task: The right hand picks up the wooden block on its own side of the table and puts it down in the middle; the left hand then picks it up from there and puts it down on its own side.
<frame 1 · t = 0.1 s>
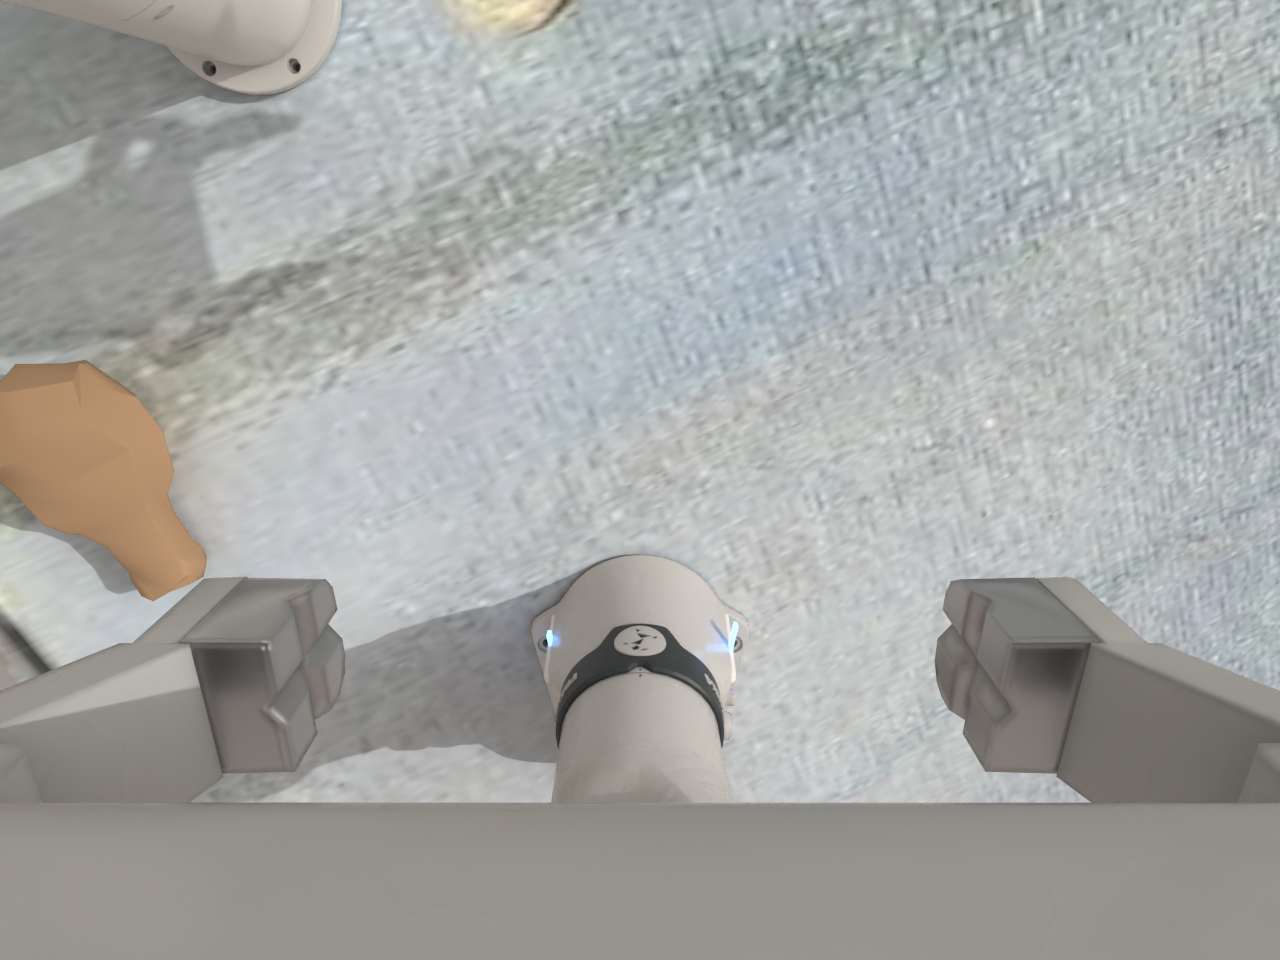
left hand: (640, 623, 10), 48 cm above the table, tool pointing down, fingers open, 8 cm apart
squash: (140, 465, 60), on the table
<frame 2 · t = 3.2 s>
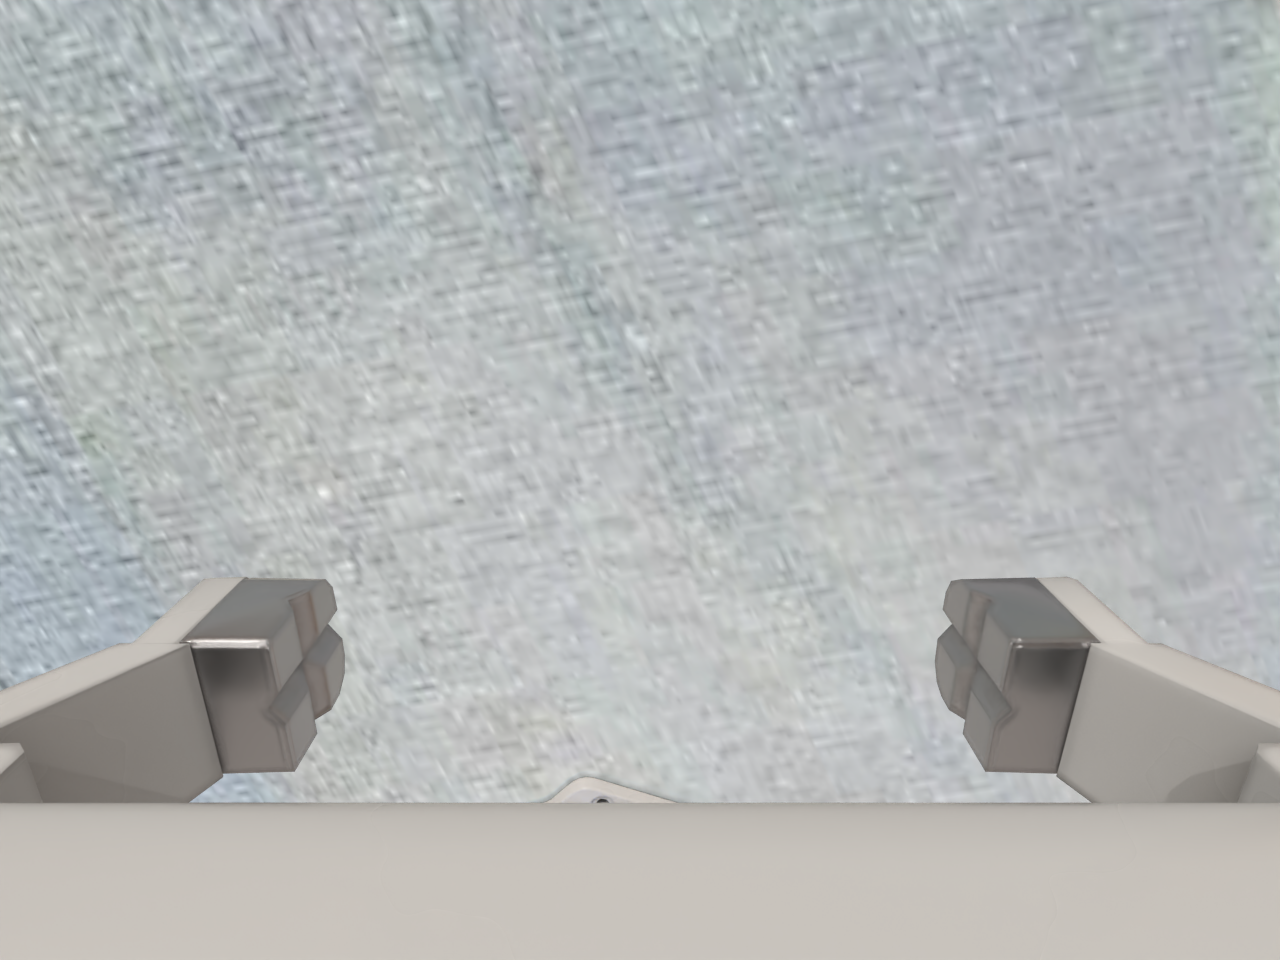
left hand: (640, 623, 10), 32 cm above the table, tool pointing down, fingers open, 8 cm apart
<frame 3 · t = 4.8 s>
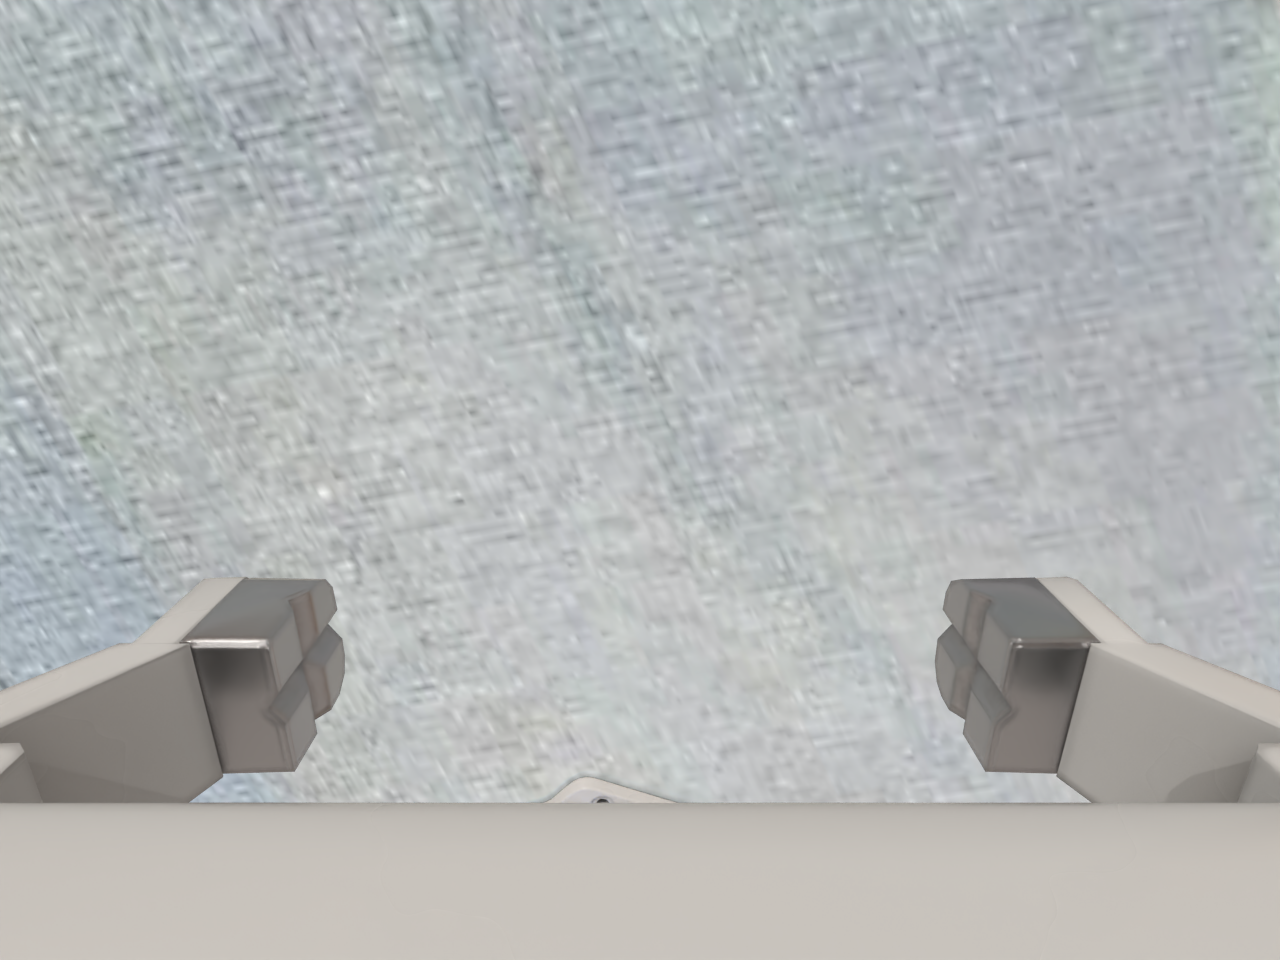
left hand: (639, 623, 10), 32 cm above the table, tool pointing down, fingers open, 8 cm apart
when the right hand's fingers open (2 cm above the table, at t = 6.6 s): block drops 1 cm, on the table.
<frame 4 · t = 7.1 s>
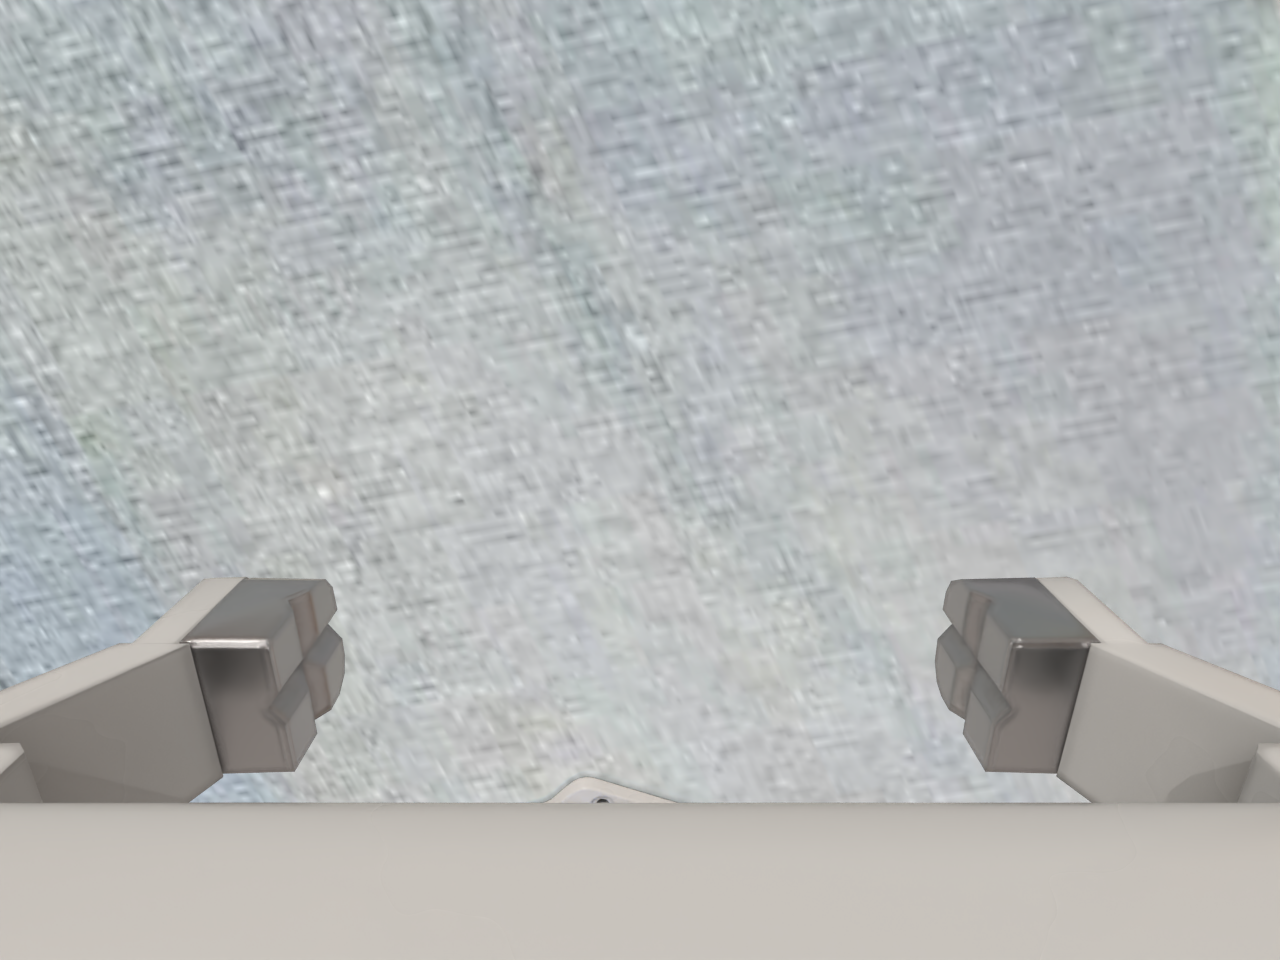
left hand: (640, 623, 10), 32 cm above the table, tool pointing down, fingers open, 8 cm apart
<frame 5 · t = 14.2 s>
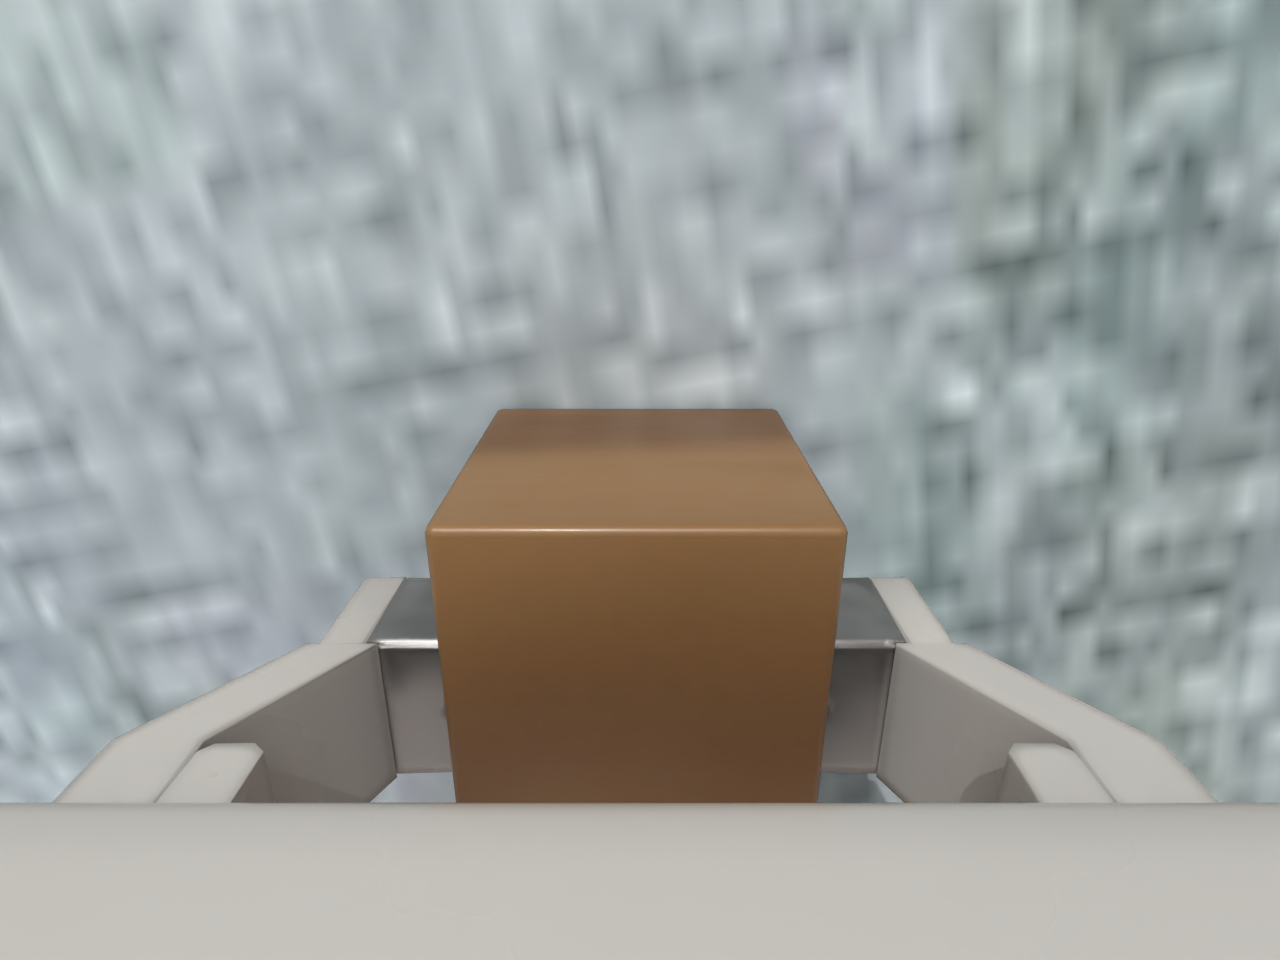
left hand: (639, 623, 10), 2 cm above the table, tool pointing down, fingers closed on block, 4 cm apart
block: (637, 566, 12), on the table, touching left hand
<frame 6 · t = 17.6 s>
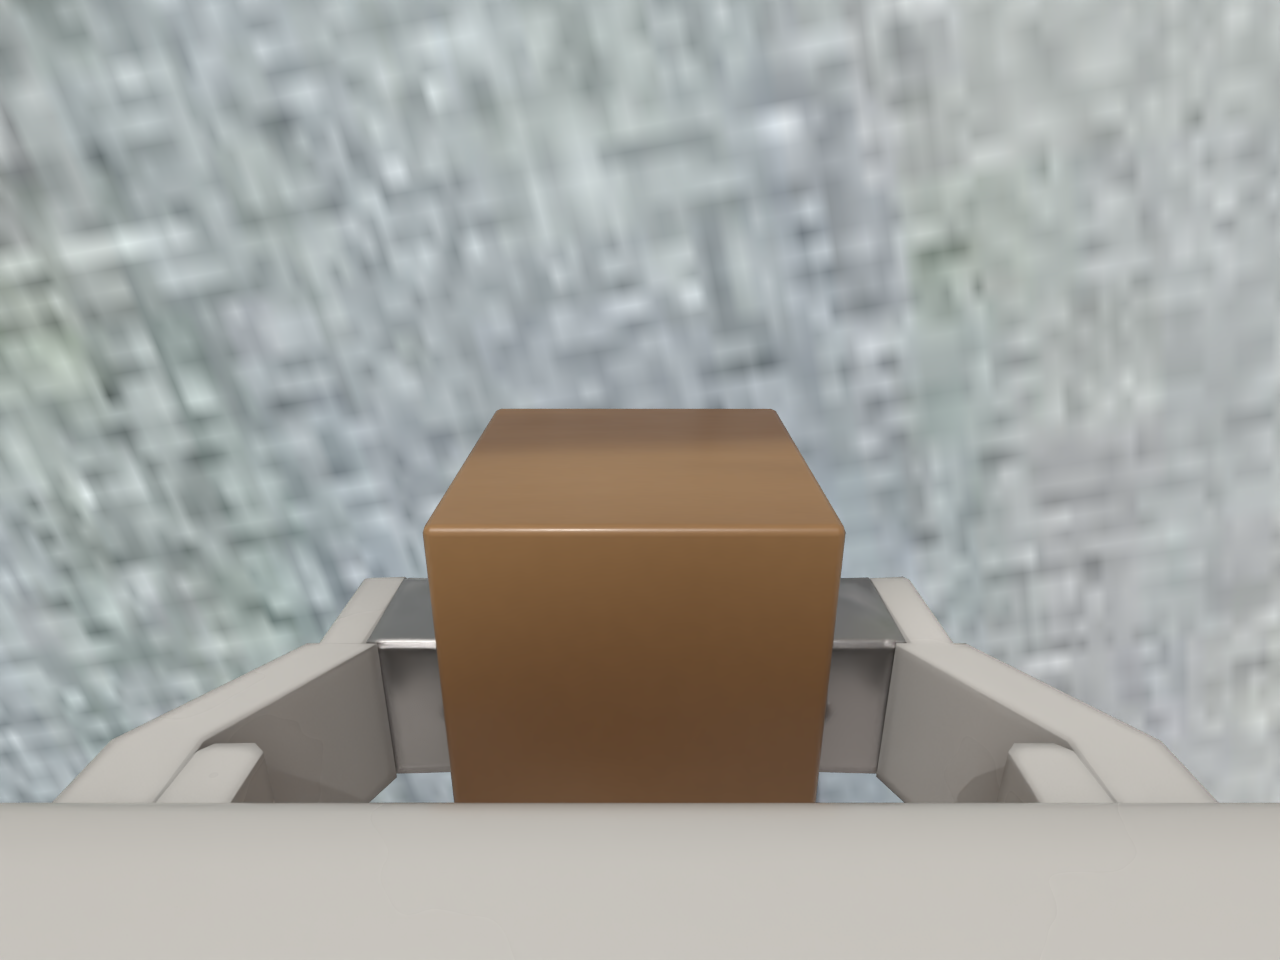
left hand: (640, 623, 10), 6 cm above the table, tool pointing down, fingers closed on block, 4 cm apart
block: (636, 566, 12), point 4 cm above the table, touching left hand
when the left hand's fingers open (3 cm above the table, at t = 21.1 s): block drops 1 cm, on the table.
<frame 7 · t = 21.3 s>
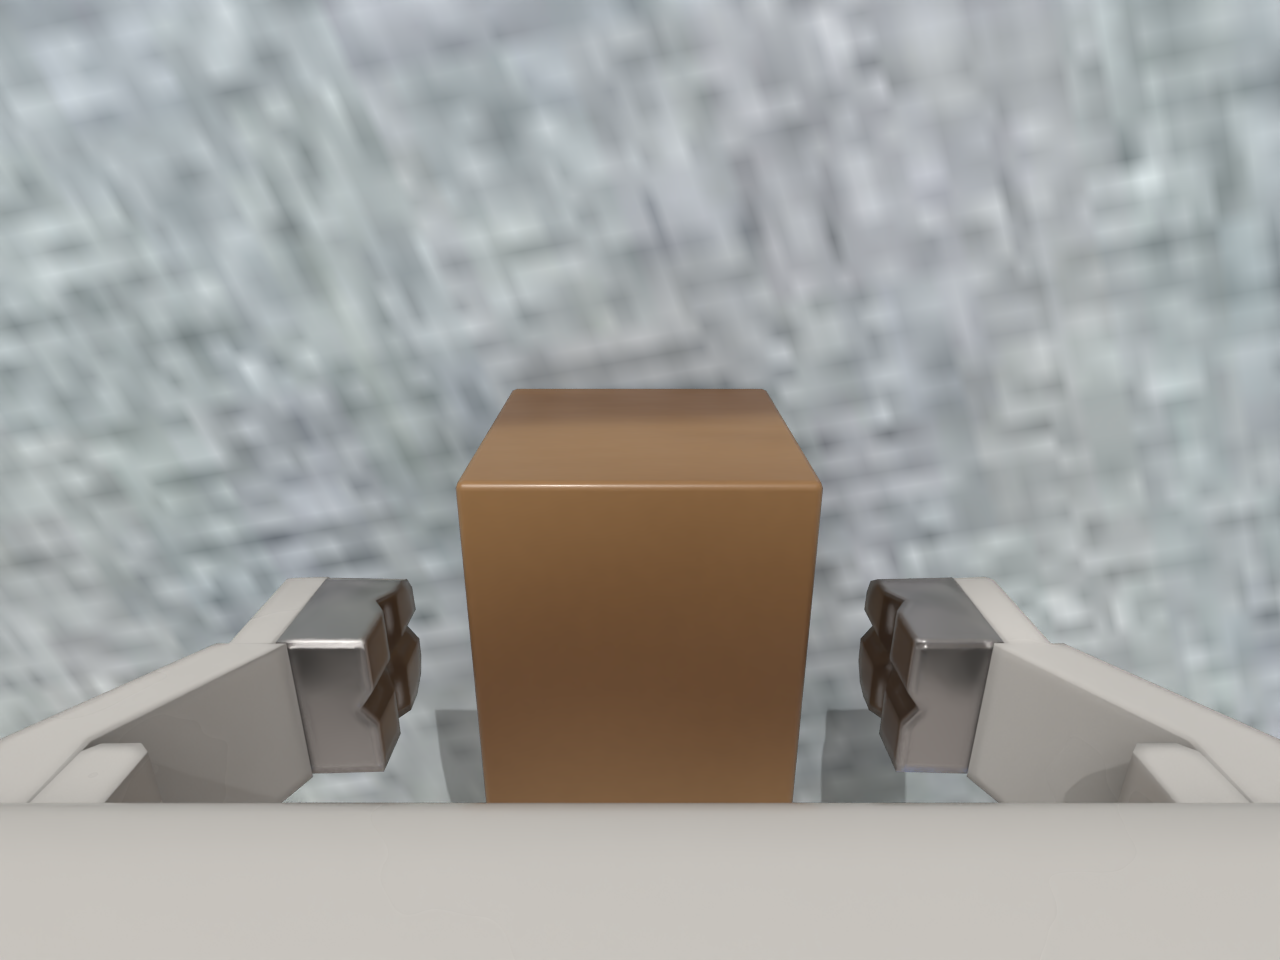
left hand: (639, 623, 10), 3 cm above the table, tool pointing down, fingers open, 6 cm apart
block: (639, 534, 13), on the table
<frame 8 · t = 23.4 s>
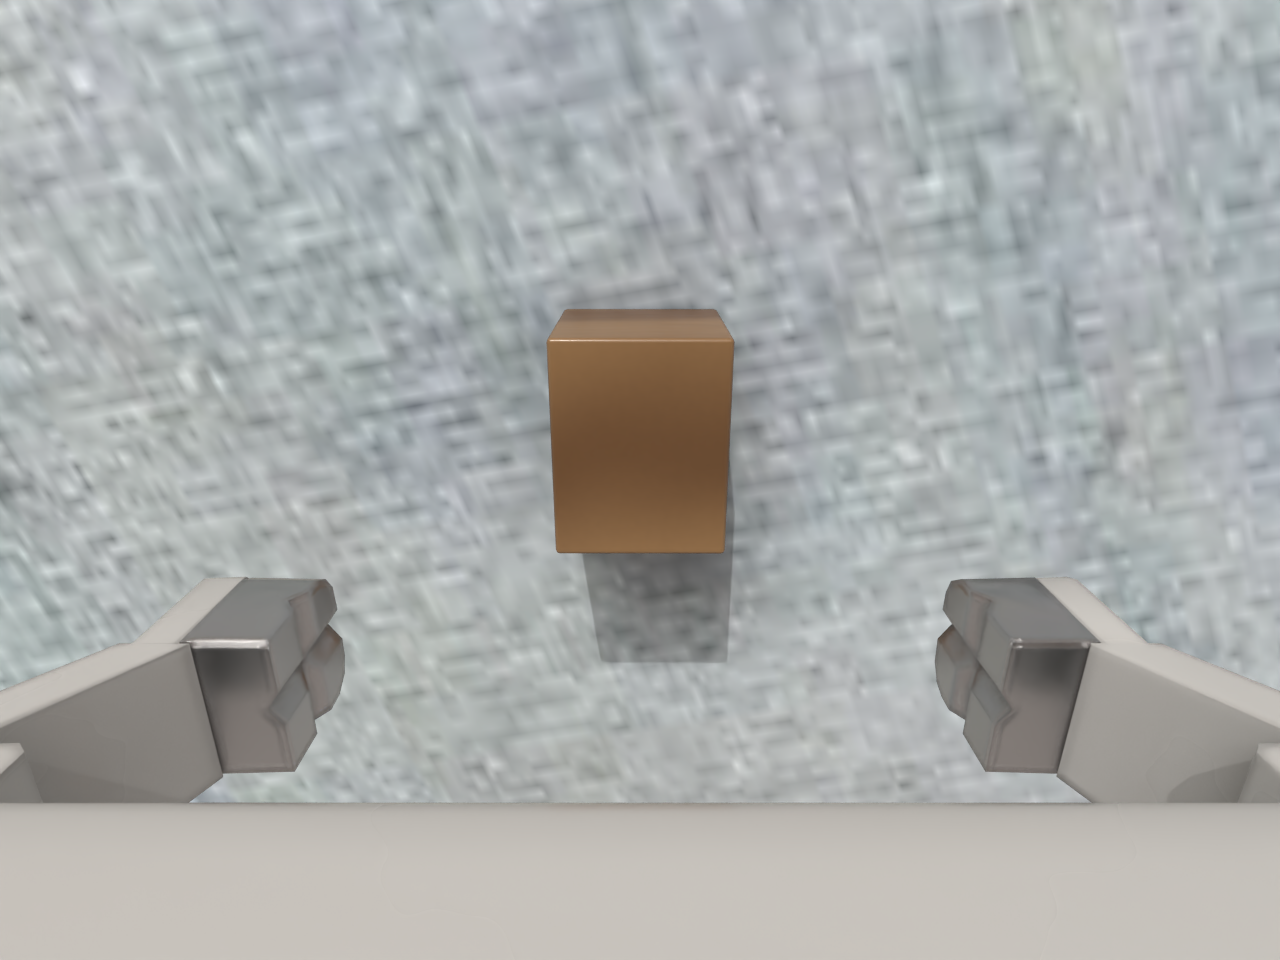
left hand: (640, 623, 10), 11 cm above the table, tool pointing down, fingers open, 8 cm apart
block: (640, 403, 21), on the table
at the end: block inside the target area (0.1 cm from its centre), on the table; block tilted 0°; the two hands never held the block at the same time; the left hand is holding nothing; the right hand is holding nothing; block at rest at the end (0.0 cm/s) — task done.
